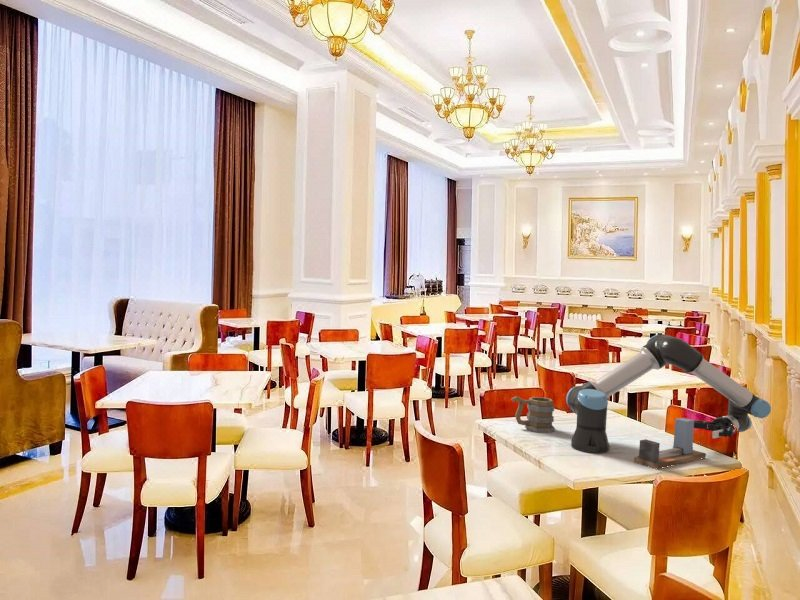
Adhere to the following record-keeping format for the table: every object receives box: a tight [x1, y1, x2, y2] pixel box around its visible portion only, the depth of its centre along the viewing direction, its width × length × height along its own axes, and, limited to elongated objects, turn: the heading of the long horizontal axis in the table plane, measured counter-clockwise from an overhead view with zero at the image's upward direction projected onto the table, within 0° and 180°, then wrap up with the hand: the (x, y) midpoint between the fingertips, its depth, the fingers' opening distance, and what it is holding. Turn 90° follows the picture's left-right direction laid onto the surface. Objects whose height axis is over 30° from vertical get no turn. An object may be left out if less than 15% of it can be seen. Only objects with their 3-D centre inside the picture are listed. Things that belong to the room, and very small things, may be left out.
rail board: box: [633, 439, 707, 470], centre depth 241 cm, size 10×32×9 cm, turn 123°
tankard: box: [510, 395, 556, 434], centre depth 282 cm, size 20×13×15 cm, turn 89°
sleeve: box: [672, 417, 695, 454], centre depth 245 cm, size 5×5×13 cm
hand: (696, 430), depth 250 cm, fingers open, 13 cm apart
